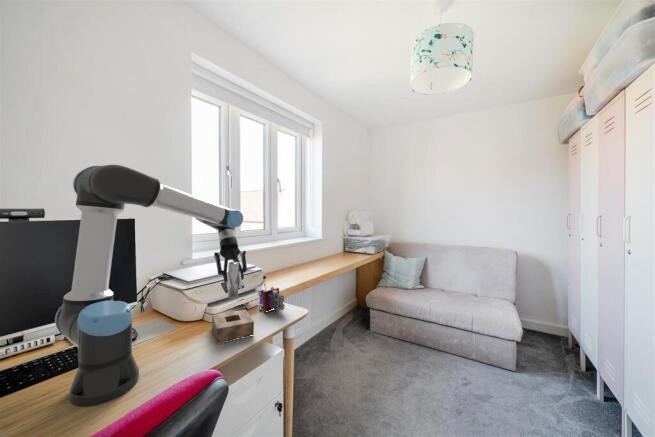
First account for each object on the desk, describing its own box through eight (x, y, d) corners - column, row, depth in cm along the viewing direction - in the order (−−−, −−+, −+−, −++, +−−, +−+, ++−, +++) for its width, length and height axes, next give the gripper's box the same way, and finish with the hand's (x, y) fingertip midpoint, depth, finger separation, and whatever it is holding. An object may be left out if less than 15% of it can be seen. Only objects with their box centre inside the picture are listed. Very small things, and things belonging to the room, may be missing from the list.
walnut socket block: (216, 344, 99) (217, 328, 99) (212, 328, 111) (212, 315, 111) (253, 335, 106) (253, 321, 106) (245, 322, 118) (245, 309, 118)
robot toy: (267, 304, 143) (291, 312, 130) (252, 309, 136) (277, 317, 123) (266, 273, 143) (290, 277, 130) (251, 276, 136) (275, 281, 123)
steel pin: (228, 298, 105) (229, 264, 105) (227, 295, 109) (227, 262, 108) (239, 296, 107) (239, 263, 107) (237, 293, 111) (237, 261, 110)
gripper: (245, 245, 125) (254, 289, 111) (207, 247, 116) (211, 295, 103) (248, 236, 120) (258, 280, 107) (208, 237, 111) (213, 285, 98)
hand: (235, 287), depth 105 cm, fingers closed on steel pin, 4 cm apart
